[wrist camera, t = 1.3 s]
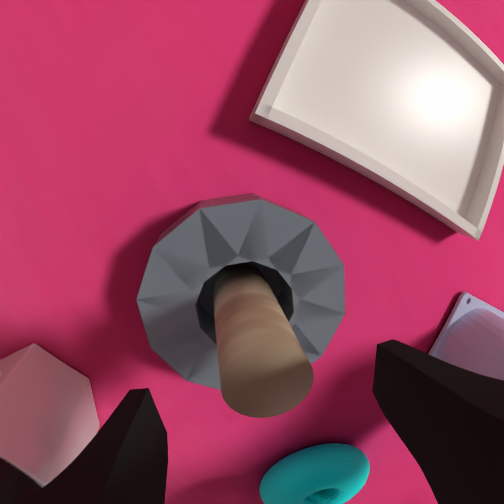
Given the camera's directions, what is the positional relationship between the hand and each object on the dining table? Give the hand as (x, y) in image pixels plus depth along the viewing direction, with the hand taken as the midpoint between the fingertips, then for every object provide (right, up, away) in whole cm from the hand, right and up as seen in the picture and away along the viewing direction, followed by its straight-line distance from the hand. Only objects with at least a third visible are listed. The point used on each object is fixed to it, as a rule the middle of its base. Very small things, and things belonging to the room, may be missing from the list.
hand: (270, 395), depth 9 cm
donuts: (+5, -15, +15) cm, 22 cm away
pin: (-1, +2, +9) cm, 9 cm away
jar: (-15, -6, +9) cm, 19 cm away
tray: (+9, +14, +7) cm, 18 cm away
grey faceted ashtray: (-1, +2, +9) cm, 9 cm away
